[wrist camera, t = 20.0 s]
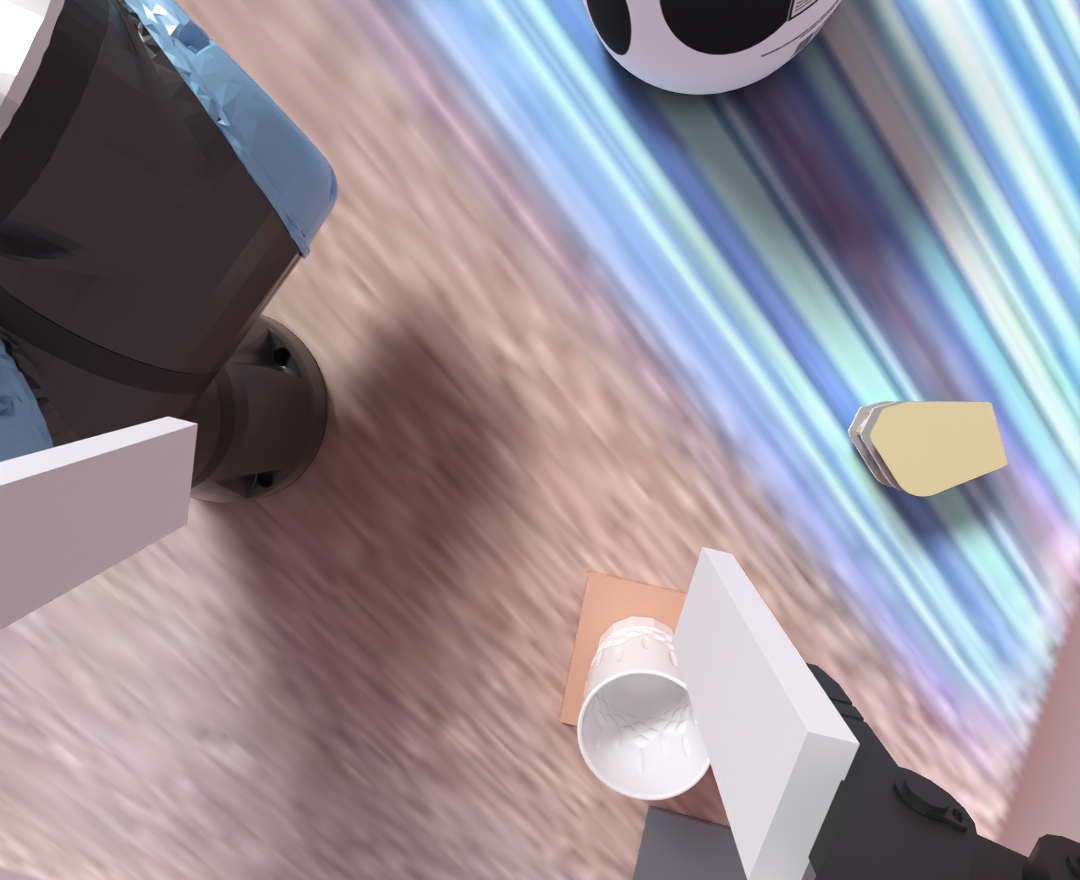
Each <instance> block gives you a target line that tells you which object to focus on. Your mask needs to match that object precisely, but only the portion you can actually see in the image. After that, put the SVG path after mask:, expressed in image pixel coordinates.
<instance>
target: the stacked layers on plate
mask: <svg viewBox="0 0 1080 880" xmlns="http://www.w3.org/2000/svg"><path fill="white" fill-rule="evenodd" d="M848 434H849V437H850V439H851V440H852V442H853V443H854V445H855V447H856V448H857V450H858V451H859V453H860V455H861V456H862V458H863V459H864V461H865V463H866V464H867V466H868V468H869V470H870V471H871V473H872V474H873V475H874V477H875V478H876V479H877V480H878V481H879V482H880V483H882V484H884V485H886V486H889V487H893V488H896V489H898V490H900V491H903V492H907V493H910V494H912V495H915V496H931V495H934V494H937V493H939V492H942V491H944V490H947V489H949V488H952V487H954V486H957V485H959V484H962V483H964V482H967V481H969V480H971V479H974V478H976V477H979V476H981V475H984V474H986V473H989V472H991V471H994V470H996V469H999V468H1001V467H1004V466H1006V465H1007V459H1006V455H1005V452H1004V448H1003V444H1002V441H1001V437H1000V433H999V430H998V426H997V422H996V419H995V415H994V411H993V408H992V404H991V403H990V402H877V403H874V404H870V405H867V406H863V407H860V408H859V410H858V412H857V414H856V416H855V418H854V420H853V422H852V424H851V426H850V428H849V430H848Z"/></svg>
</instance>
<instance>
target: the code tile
mask: <svg viewBox="0 0 1080 880" xmlns="http://www.w3.org/2000/svg"><path fill="white" fill-rule="evenodd" d="M815 878H816V874H815V872H814V869H813V867H812V865H811V862H810V861H809V863H808V866H807V868H806V870H805V873H804V875H803V877H802V880H815ZM633 880H747V877H746V874H745V871H744V868H743V865H742V861H741V858H740V855H739V852H738V849H737V846H736V842H735V839H734V836H733V833H732V830H731V828H730V827H726V826H722V825H719V824H715V823H711V822H708V821H704V820H700V819H697V818H693V817H689V816H686V815H682V814H678V813H675V812H671V811H667V810H664V809H660V808H656V807H653V806H649V810H648V814H647V819H646V824H645V828H644V833H643V837H642V842H641V846H640V851H639V855H638V860H637V864H636V869H635V873H634V878H633Z"/></svg>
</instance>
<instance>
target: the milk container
mask: <svg viewBox="0 0 1080 880" xmlns="http://www.w3.org/2000/svg"><path fill="white" fill-rule="evenodd" d="M583 2H584V5H585V8H586V11H587V13H588V15H589V18H590V20H591V22H592V25H593V27H594V29H595V31H596V33H597V34H598V36H599V38H600V40H601V41H602V43H603V44H604V46H605V47H606V49H607V50H608V51H609V53H610V54H611V55H612V56H613V57H614V58H615V59H616V60H617V61H618V62H619V63H620V65H622V66H623V67H624V68H625V69H626V70H628V71H629V72H630V73H632V74H633V75H635V76H636V77H638V78H639V79H641V80H643V81H645V82H647V83H649V84H651V85H654V86H656V87H659V88H661V89H664V90H667V91H672V92H677V93H684V94H699V95H701V94H715V93H722V92H727V91H731V90H735V89H738V88H741V87H744V86H747V85H749V84H752V83H754V82H757V81H759V80H761V79H763V78H765V77H766V76H768V75H770V74H771V73H773V72H775V71H776V70H778V69H779V68H781V67H782V66H783V65H785V64H786V63H787V62H789V61H790V60H791V59H792V58H793V57H794V56H796V55H797V54H798V53H799V52H800V51H801V50H802V49H803V48H804V47H805V46H806V45H807V44H808V43H809V42H810V41H811V40H812V39H813V38H814V37H815V36H816V35H817V33H818V32H819V31H820V30H821V29H822V28H823V26H824V25H825V24H826V23H827V21H828V20H829V19H830V17H831V16H832V15H833V13H834V12H835V10H836V9H837V8H838V6H839V5H840V3H841V2H842V0H583Z"/></svg>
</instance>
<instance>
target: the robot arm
mask: <svg viewBox="0 0 1080 880" xmlns="http://www.w3.org/2000/svg"><path fill="white" fill-rule="evenodd" d="M337 193H338V186H337V181H336V176H335V174H334V171H333V169H332V167H331V165H330V164H329V162H328V161H327V160H326V158H325V157H324V156H323V155H322V154H321V152H320V151H319V150H318V149H317V148H316V147H315V145H314V144H313V143H312V142H311V141H310V140H309V139H308V137H307V136H306V135H305V134H304V133H303V132H302V131H301V130H300V129H299V128H298V127H297V125H296V124H295V123H294V122H293V121H292V120H291V119H290V118H289V117H288V116H287V115H286V114H285V113H284V112H283V110H282V109H281V108H280V107H279V106H278V105H277V104H276V103H275V102H274V101H273V100H272V99H271V98H270V97H269V96H268V95H267V94H266V93H265V92H264V91H263V90H262V89H261V88H260V87H259V85H258V84H257V83H256V82H255V81H254V80H253V79H252V78H251V77H250V76H249V75H248V74H247V73H246V72H245V71H244V70H243V69H242V68H241V67H240V66H239V65H238V64H237V63H236V62H235V61H234V60H233V59H232V58H231V57H230V56H229V55H228V54H227V53H226V52H225V51H224V50H223V49H222V48H221V47H220V46H219V45H217V44H216V43H215V42H213V41H212V40H211V38H210V37H209V36H208V34H206V33H205V32H204V31H203V30H202V29H201V28H200V27H199V26H198V25H197V24H196V23H195V22H194V21H193V20H192V19H191V18H190V17H189V16H188V15H187V14H186V12H185V11H184V10H183V9H182V8H181V7H180V6H179V5H178V4H177V3H176V2H175V1H174V0H0V630H1V629H3V628H4V627H6V626H8V625H10V624H12V623H13V622H15V621H17V620H19V619H20V618H22V617H24V616H26V615H27V614H29V613H31V612H33V611H34V610H36V609H38V608H40V607H41V606H43V605H45V604H47V603H49V602H50V601H52V600H54V599H56V598H57V597H59V596H61V595H63V594H64V593H66V592H68V591H70V590H71V589H73V588H75V587H77V586H78V585H80V584H82V583H84V582H85V581H87V580H89V579H91V578H93V577H94V576H96V575H98V574H100V573H101V572H103V571H105V570H107V569H108V568H110V567H112V566H114V565H115V564H117V563H119V562H121V561H122V560H124V559H126V558H128V557H130V556H131V555H133V554H135V553H137V552H138V551H140V550H142V549H144V548H145V547H147V546H149V545H151V544H152V543H154V542H156V541H158V540H159V539H161V538H163V537H165V536H166V535H168V534H170V533H172V532H174V531H175V530H177V529H179V528H181V527H182V526H184V525H186V524H187V519H188V509H189V500H190V498H196V499H201V500H206V501H212V502H218V503H237V502H245V501H249V500H253V499H257V498H260V497H264V496H267V495H270V494H273V493H275V492H278V491H280V490H282V489H284V488H285V487H287V486H288V485H290V484H291V483H293V482H294V481H295V480H296V479H297V478H298V477H299V476H300V475H301V474H302V473H303V472H304V471H305V470H306V469H307V468H308V466H309V465H310V463H311V462H312V460H313V459H314V457H315V455H316V453H317V451H318V449H319V447H320V444H321V442H322V439H323V435H324V431H325V426H326V418H327V401H326V393H325V387H324V383H323V379H322V376H321V373H320V371H319V368H318V366H317V364H316V362H315V360H314V358H313V357H312V355H311V353H310V352H309V350H308V349H307V348H306V346H305V345H304V344H303V342H302V341H301V340H300V339H299V338H298V337H297V336H296V335H295V334H294V333H293V332H291V331H290V330H289V329H288V328H286V327H285V326H284V325H282V324H280V323H279V322H277V321H275V320H273V319H271V318H269V317H266V316H264V315H261V314H262V312H263V311H264V309H265V308H266V307H267V305H268V304H269V302H270V301H271V300H272V298H273V297H274V295H275V294H276V293H277V291H278V290H279V288H280V287H281V286H282V284H283V283H284V281H285V280H286V279H287V277H288V276H289V274H290V273H291V272H292V270H293V269H294V267H295V266H296V265H297V263H298V262H299V260H300V259H301V258H302V257H303V258H304V259H305V258H306V257H307V256H308V254H309V251H310V249H309V245H310V243H311V242H312V240H313V239H314V237H315V235H316V234H317V232H318V231H319V229H320V227H321V226H322V224H323V223H324V221H325V220H326V218H327V216H328V215H329V213H330V212H331V210H332V209H333V207H334V205H335V202H336V199H337ZM672 644H673V647H674V650H675V653H676V656H677V659H678V662H679V666H680V669H681V672H682V675H683V678H684V681H685V685H686V688H687V691H688V694H689V697H690V700H691V704H692V707H693V710H694V713H695V716H696V719H697V722H698V726H699V729H700V732H701V735H702V738H703V741H704V745H705V748H706V751H707V754H708V757H709V760H710V764H711V767H712V770H713V773H714V776H715V779H716V782H717V786H718V789H719V792H720V795H721V798H722V801H723V805H724V808H725V811H726V814H727V817H728V820H729V824H730V827H731V830H732V833H733V836H734V839H735V842H736V846H737V849H738V852H739V855H740V858H741V861H742V865H743V868H744V871H745V874H746V877H747V880H802V877H803V875H804V873H805V870H806V868H807V866H808V863H809V861H810V862H811V865H812V867H813V869H814V872H815V874H816V878H815V880H1080V843H1078V842H1075V841H1073V840H1070V839H1068V838H1065V837H1063V836H1055V835H1049V834H1046V835H1045V836H1043V837H1041V838H1039V839H1038V841H1037V843H1036V845H1035V847H1034V849H1033V850H1032V852H1031V854H1030V856H1029V858H1028V857H1026V856H1023V855H1021V854H1019V853H1017V852H1015V851H1012V850H1010V849H1008V848H1006V847H1004V846H1002V845H999V844H997V843H995V842H993V841H991V840H988V839H986V838H984V837H982V836H980V835H978V834H977V832H976V827H975V823H974V822H973V820H972V819H971V817H970V816H969V814H968V813H967V811H966V810H965V808H964V807H962V806H961V805H960V804H959V803H958V802H957V801H956V800H955V799H954V798H953V797H952V796H951V795H950V794H949V793H948V792H946V791H945V790H943V789H942V788H940V787H939V786H938V785H936V784H935V783H933V782H932V781H931V780H929V779H927V778H925V777H923V776H921V775H919V774H917V773H915V772H913V771H911V770H908V769H905V768H902V767H899V766H898V765H897V764H896V763H895V761H894V760H893V758H892V757H891V756H890V754H889V753H888V751H887V750H886V749H885V747H884V746H883V745H882V743H881V742H880V740H879V739H878V738H877V736H876V735H875V734H874V732H873V731H872V729H871V728H870V727H869V725H868V724H867V723H866V722H864V721H863V720H864V718H863V717H862V716H861V714H860V713H859V711H858V710H857V709H856V707H854V706H852V702H851V700H850V699H849V698H848V696H847V695H846V694H845V692H844V691H843V689H842V688H841V687H840V685H839V684H838V683H837V682H836V681H834V680H833V679H832V678H831V677H830V676H829V675H827V674H826V673H825V672H824V671H823V670H822V669H820V668H819V667H818V666H816V665H812V664H808V663H805V662H804V660H803V659H802V657H801V656H800V654H799V653H798V651H797V650H796V649H795V647H794V646H793V644H792V643H791V641H790V640H789V638H788V637H787V635H786V634H785V632H784V631H783V629H782V628H781V626H780V625H779V623H778V622H777V620H776V619H775V617H774V616H773V614H772V613H771V611H770V610H769V608H768V607H767V605H766V604H765V603H764V601H763V600H762V598H761V597H760V595H759V594H758V592H757V591H756V589H755V588H754V586H753V585H752V583H751V582H750V580H749V579H748V577H747V576H746V574H745V573H744V571H743V570H742V568H741V567H740V565H739V564H738V562H737V561H736V559H735V558H734V556H733V555H732V554H729V553H725V552H721V551H717V550H713V549H709V548H705V547H703V548H702V551H701V554H700V557H699V560H698V563H697V566H696V569H695V572H694V575H693V578H692V581H691V584H690V588H689V591H688V594H687V597H686V600H685V603H684V606H683V609H682V612H681V615H680V618H679V621H678V624H677V627H676V630H675V633H674V636H673V639H672Z"/></svg>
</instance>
